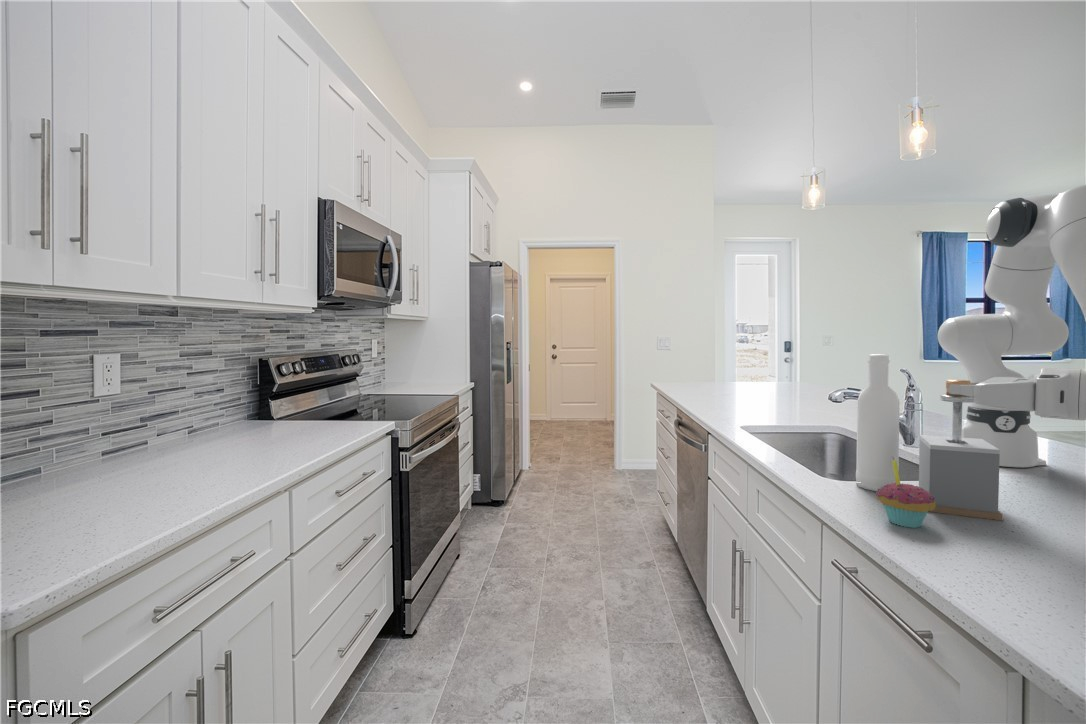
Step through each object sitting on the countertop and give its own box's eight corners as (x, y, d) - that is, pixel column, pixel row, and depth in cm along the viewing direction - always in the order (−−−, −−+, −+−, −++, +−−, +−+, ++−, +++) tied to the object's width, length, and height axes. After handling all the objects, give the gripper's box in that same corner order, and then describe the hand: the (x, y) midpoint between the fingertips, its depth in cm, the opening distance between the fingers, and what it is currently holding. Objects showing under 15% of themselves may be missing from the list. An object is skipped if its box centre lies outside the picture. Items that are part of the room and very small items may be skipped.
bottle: (865, 491, 104) (867, 355, 102) (849, 481, 111) (850, 354, 110) (906, 493, 102) (909, 354, 101) (887, 482, 110) (888, 353, 108)
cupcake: (870, 522, 87) (871, 458, 87) (884, 510, 93) (885, 450, 92) (929, 536, 81) (930, 467, 80) (940, 523, 86) (941, 458, 85)
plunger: (927, 463, 99) (929, 378, 98) (975, 467, 95) (977, 379, 94) (936, 473, 92) (938, 381, 91) (988, 477, 88) (990, 382, 87)
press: (915, 494, 101) (916, 434, 101) (983, 501, 96) (984, 438, 95) (926, 511, 92) (927, 445, 91) (1002, 520, 86) (1004, 450, 86)
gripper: (1060, 371, 89) (963, 368, 100) (1050, 379, 76) (940, 375, 87) (1059, 404, 89) (962, 398, 100) (1048, 418, 77) (939, 409, 87)
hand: (952, 387), depth 93 cm, fingers closed on plunger, 4 cm apart
